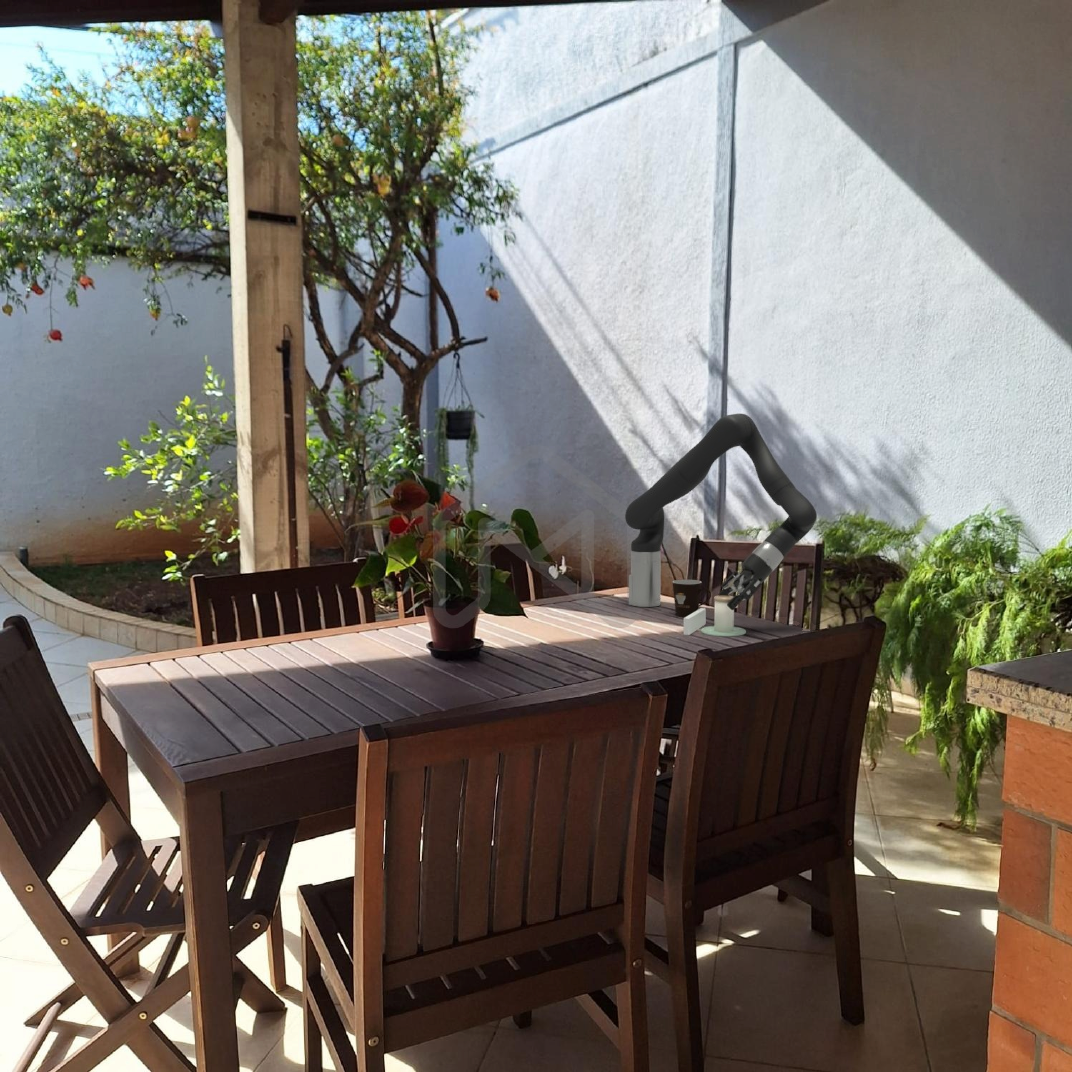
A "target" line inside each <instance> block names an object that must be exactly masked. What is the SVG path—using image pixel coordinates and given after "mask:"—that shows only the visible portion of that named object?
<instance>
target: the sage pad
mask: <svg viewBox="0 0 1072 1072" xmlns="http://www.w3.org/2000/svg"><path fill="white" fill-rule="evenodd" d="M700 629H701V630H700V632H701V633H702V634H704V635H706V636H707V635H708V636H714V637H739V636H743V635H745V634H746V633H747V631H746V629H744V628H742V627H738V626H734V631H733V632H717V631H714V625H710V626H705V627H704V626H703V627H701V628H700Z"/></svg>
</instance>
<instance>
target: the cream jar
mask: <svg viewBox="0 0 1072 1072" xmlns="http://www.w3.org/2000/svg"><path fill="white" fill-rule="evenodd" d="M733 597H734V595H733V596H732V595H729V596H726V595H720V596H717V595H715V596H714V597H713V601H714V613H713V614H714V615H713V616H714V618H713V619H714V620H713V621H714V622H713V623H714V625H713V626H714V631H717V632H733V631H734V627H735V609H734V610H731V609H730V608H729V607H728V606H727V604H728V602H729V601H730V600H731V599H732V598H733Z"/></svg>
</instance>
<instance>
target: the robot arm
mask: <svg viewBox="0 0 1072 1072" xmlns="http://www.w3.org/2000/svg"><path fill="white" fill-rule="evenodd" d="M737 447H739V448H741V449H742V450H743V451H744V452H745V453H746V454H747V455H748V457H749V458H750V460H751V462H752V463H753V466H754V468H755V471H756V475H757V478H758V480H759V483H760V484H761V486H762V488H763V489H764V491H765V492H766V493H767V494H768V496H769V498H771V500H772V501H773V502H774V503H775V504H776V505H777V506H779V507H781V508H782V509H783V510H784V512H786V513H785V514H787V515H788V516H787V518H786V519H785V520H784V521H783V523H782V524H780V526H778V527H777V528H775V529H774V530H772V531H771V532H770V534H769V535H768V536H767V537H766V538H765V539H764V540H763V541H762V542H761V543H760V544H759V545H757V546H756V548H755V549H754V550H753V551H752V552H751V553H750V554H749V555H748V556H747V557H746V559H745V560H744V561H742V563H741V568H742V571H741V572H740V573H739V572H738V571H737V570H734V571H733V572H732V573H731V575H729V576H728V577H727V578H726V580H724V582H723V583H722V584H721V589H722V590H720V592H719V593H717V595H716V596H720V595H726V596H730V595H731V594H733V593H736V594H735V595H733V598H732V599H731V600H730V601H729V602H728V604H727V606H728V607H729V608H730V609H731V610H734V611H735V609H736V608H737V607H738V605H740V603H742V601H745V600H746V601H748V600H750V599H751V598H752V597H753V596H754V594H755V593H756V592H757V591H758V590H759V588H760V587H761V586H762V585H763V583H764V581H765V580H766V579H767V578H768V577H769V576H770V575H771V574H772V573H773V571H775V570H776V568H777V567H778V566H779V565H780V564H781V562H782V560H784V559H785V557H786V556H787V555H788V554H789V553H790V552H791V550H792V549H793V548H794V547H795V546H796V544H798V542H800V541H801V540H802V539H803V538H804V537H805V536H806V535H808V533H809V532H810V531H811V530H812V529H813V528H814V526H815V523H816V520H817V516H818V514H817V511H816V508H815V506H814V505H813V503H812V502H811V501H810V500H809V499H808V498H807V497H806V495H804V494H803V493H802V492H801V491H799V489H797V488H796V486H795V485H794V484H793V482H792V480H791V479H790V478H789V477H788V476H787V474H786V473H785V472H784V470H783V469H782V468H781V466H780V465H779V464H778V462H777V460H776V459H775V458H774V455H773V454H772V452H771V451H770V449H769V447H768V445H767V444H766V442H765V440H764V438H763V436H762V434H761V432H760V431H759V429H758V427H757V425H756V423H755V421H754V420H753V419H752V418H751V416H750V415H747V414H746V413H733V414H727V415H724V416H722V417H720V418H719V419H717V421H716V422H715V423H714V424H713V425H712V427H711V428H710V429H709V430H708V431H707V433H706V434H705V435H704V436H703V437H702V438H701V440H699V442H698V443H696V445H694V446H693V447H692V448H690V449H689V451H688V452H686V454H684V455H683V456H682V457H681V458H680V459H678V460H677V461H676V463H674V464H673V465H672V467H670V469H668V471H667V472H666V473H665V474H663V475H662V476H661V477H660V478H659V479H658V480H657V481H656V482H655V483H654V484H653V485H652V486H651V487H650V488H649V489H648V490H646V491H645V492H644V493H642V494H641V495H640V496H638V497H637V498H635V499H634V500H633V501H631V502H630V504H628V506H627V507H626V511H625V515H624V516H625V517H624V520H625V523H626V524H627V526H628V527H630V528H631V529H635V530H639V533H638V536H637V537H636V538H635V539H633V540H632V542H631V544H630V574H629V575H628V605H629V606H634V607H641V608H649V607H650V608H652V607H658V606H660V605H661V580H662V579H661V576H662V575H661V572H662V571H661V566H662V565H661V562H662V561H661V554H662V553H661V551H662V550H661V549H662V548H661V546H662V544H663V541H664V532H665V511H664V507H665V506H667V505H669V504H670V503H673V502H675V501H677V500H678V499H681V498H683V497H684V496H686V495H688V494H689V493H690V492H692V491H693V490H694V489H695V488H696V487H698V485H700V483H702V482H703V481H704V479H705V478H706V477H707V475H708V474H709V472H710V470H711V468H712V465H713V464H714V463H715V462H716V461H717V460H718V459H719V458H720V457H721V456H722V455H724V454H725V453H727V452H728V451H729V450H731V449H733V448H737Z"/></svg>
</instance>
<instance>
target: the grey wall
mask: <svg viewBox="0 0 1072 1072" xmlns="http://www.w3.org/2000/svg"><path fill="white" fill-rule="evenodd" d="M706 609H707V608H703V607H701V608H698V610H697V611H695V612H693V613H692V614H690V615H688V616H687V617H683V636H690V635H692V634H693V633H695V632H696V631H697V630H699V629H702V628H703V627H704V626H705V625H706V624H707V622H706V621H707V617H706V616H707V610H706Z"/></svg>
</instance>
